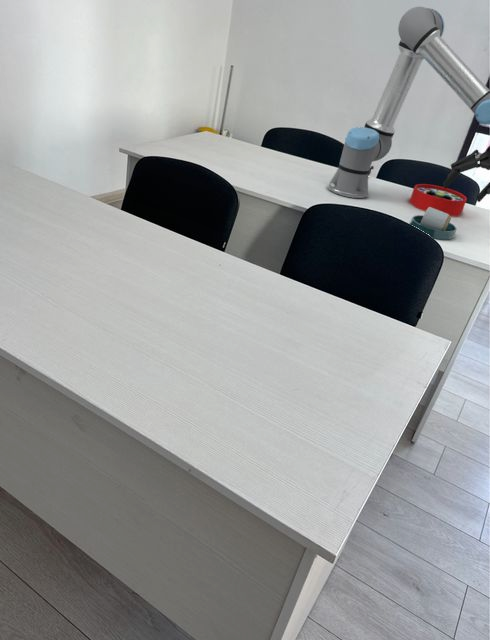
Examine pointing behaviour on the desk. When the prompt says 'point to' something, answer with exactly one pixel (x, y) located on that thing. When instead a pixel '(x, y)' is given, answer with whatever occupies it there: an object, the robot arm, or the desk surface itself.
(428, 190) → the toy clock
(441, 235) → the bowl
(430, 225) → the grey cylinder
